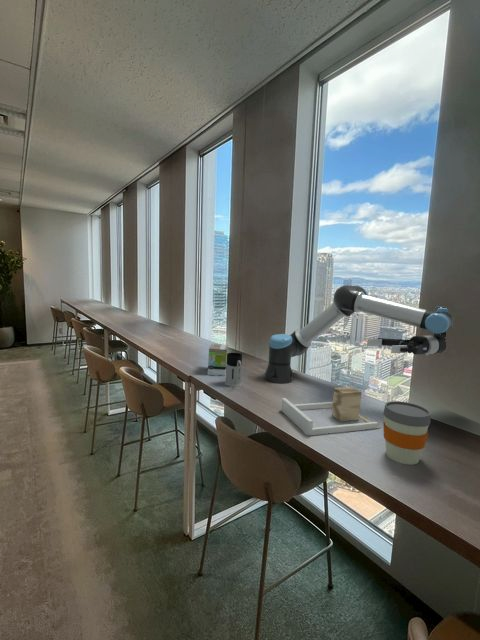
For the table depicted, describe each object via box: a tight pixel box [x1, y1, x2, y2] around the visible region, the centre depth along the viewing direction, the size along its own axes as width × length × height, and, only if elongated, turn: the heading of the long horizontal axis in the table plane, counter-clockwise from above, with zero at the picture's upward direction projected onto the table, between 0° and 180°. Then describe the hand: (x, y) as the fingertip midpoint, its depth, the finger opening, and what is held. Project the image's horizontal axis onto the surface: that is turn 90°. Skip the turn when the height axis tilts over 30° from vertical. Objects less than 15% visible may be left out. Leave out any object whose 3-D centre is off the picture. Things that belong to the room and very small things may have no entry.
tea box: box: [207, 343, 229, 377], centre depth 180 cm, size 15×10×15 cm
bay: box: [280, 397, 381, 437], centre depth 123 cm, size 22×29×5 cm
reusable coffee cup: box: [382, 400, 431, 466], centre depth 97 cm, size 13×13×15 cm
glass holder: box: [224, 352, 243, 388], centre depth 157 cm, size 9×14×15 cm, turn 18°
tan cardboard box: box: [331, 386, 362, 422], centre depth 125 cm, size 6×8×11 cm
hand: (379, 345), depth 126 cm, fingers open, 13 cm apart
